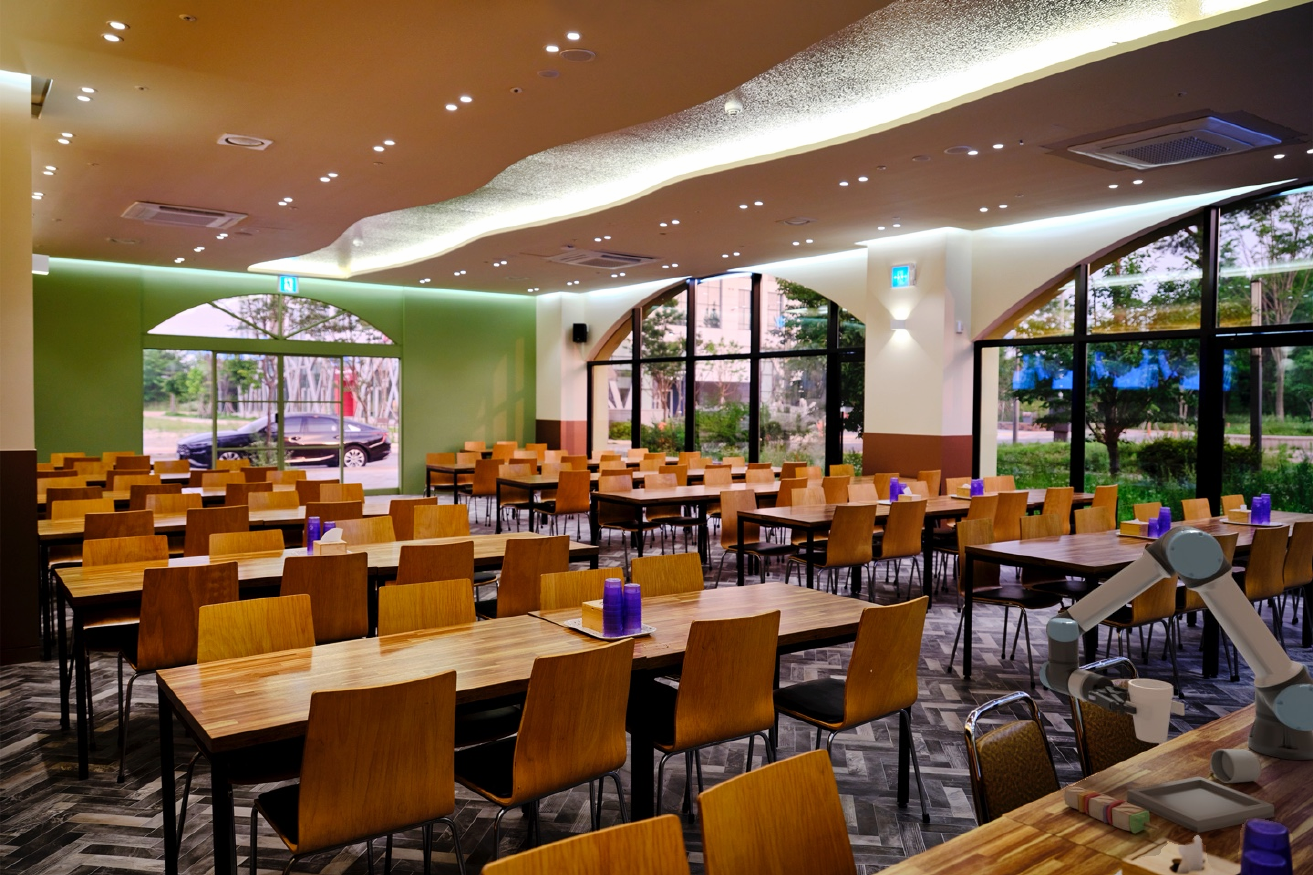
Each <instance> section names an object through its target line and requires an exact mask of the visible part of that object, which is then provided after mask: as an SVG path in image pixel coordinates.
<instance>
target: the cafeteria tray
mask: <svg viewBox="0 0 1313 875" xmlns="http://www.w3.org/2000/svg"><path fill="white" fill-rule="evenodd" d="M1126 802H1127V803H1130V804H1133V805H1135V806H1138V807H1140V808H1143V809H1145V811H1149V813H1150V812H1151V813H1153V814H1155V815H1158V816H1159V817H1161V818H1164V819H1167V820H1168V821H1170V822H1172V823H1174V824H1177V825H1178V826H1179V825H1180V826H1182V827H1184V828H1185V829H1188V830H1191V831H1193V832H1194V833H1196V834H1200V833H1205V832H1210V831H1213V830H1219V829H1224V828H1228V827H1231V826H1232V827H1233V826H1237V825H1241V824H1246V823H1245V822H1246V820H1247V819H1250V818H1261V820H1266V819H1269V818H1274V817H1275V805H1274V804H1272V803H1270V802H1268V801H1264V800H1262V799H1260V798H1256V797H1253V796H1252V795H1249V794H1246V793H1243V792H1241V791H1239V790H1235V789H1234V788H1232V787H1228V786H1226V785H1223V784H1220V783H1217V782H1215V781H1213V780H1210V779H1207V778H1205V777H1202V776H1199V775H1198V776H1194V777H1193V776H1192V777H1189V778H1183V779H1177V780H1172V781H1168V782H1162V783H1158V784H1157V783H1156V784H1150V785H1146V786H1141V787H1135V788H1134V787H1133V788H1129V789H1127V790H1126Z"/></svg>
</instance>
